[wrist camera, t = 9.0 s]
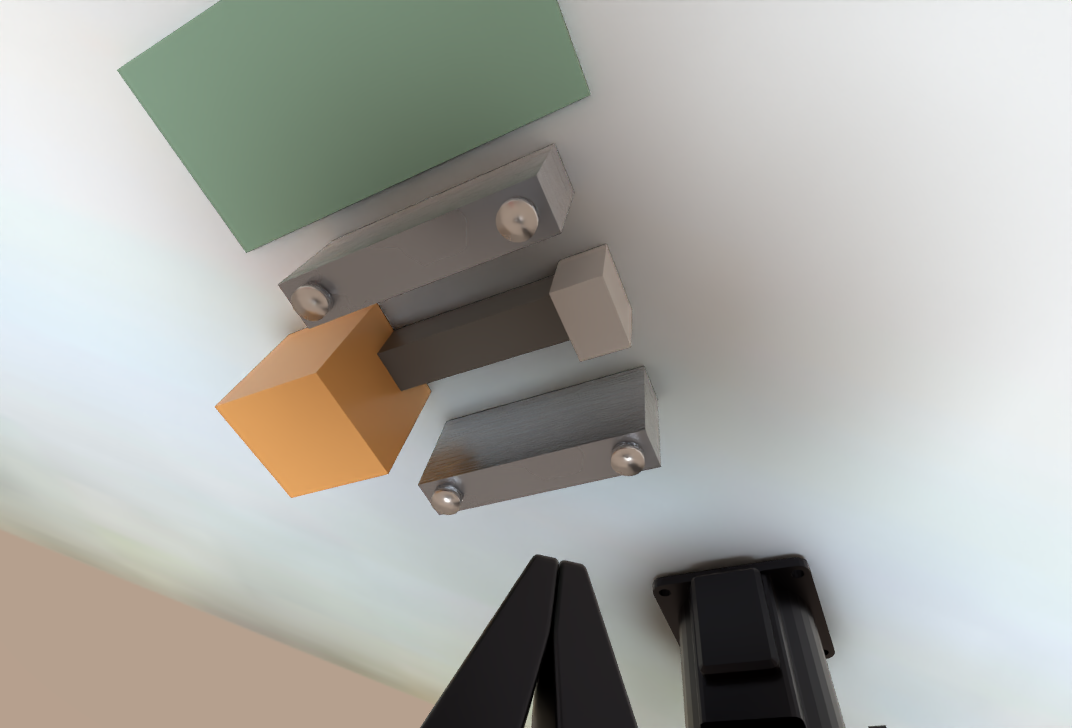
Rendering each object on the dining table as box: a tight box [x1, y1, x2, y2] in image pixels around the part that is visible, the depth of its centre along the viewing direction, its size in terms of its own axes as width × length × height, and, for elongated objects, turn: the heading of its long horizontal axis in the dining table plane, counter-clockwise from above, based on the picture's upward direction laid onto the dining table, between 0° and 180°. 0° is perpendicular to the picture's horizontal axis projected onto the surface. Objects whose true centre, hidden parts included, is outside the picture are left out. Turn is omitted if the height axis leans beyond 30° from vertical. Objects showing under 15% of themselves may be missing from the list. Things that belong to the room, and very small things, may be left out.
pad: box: [117, 0, 590, 253], centre depth 16 cm, size 6×12×1 cm, turn 114°
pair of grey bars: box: [278, 143, 661, 515], centre depth 18 cm, size 9×8×4 cm
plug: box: [215, 244, 632, 498], centre depth 18 cm, size 12×4×4 cm, turn 114°
